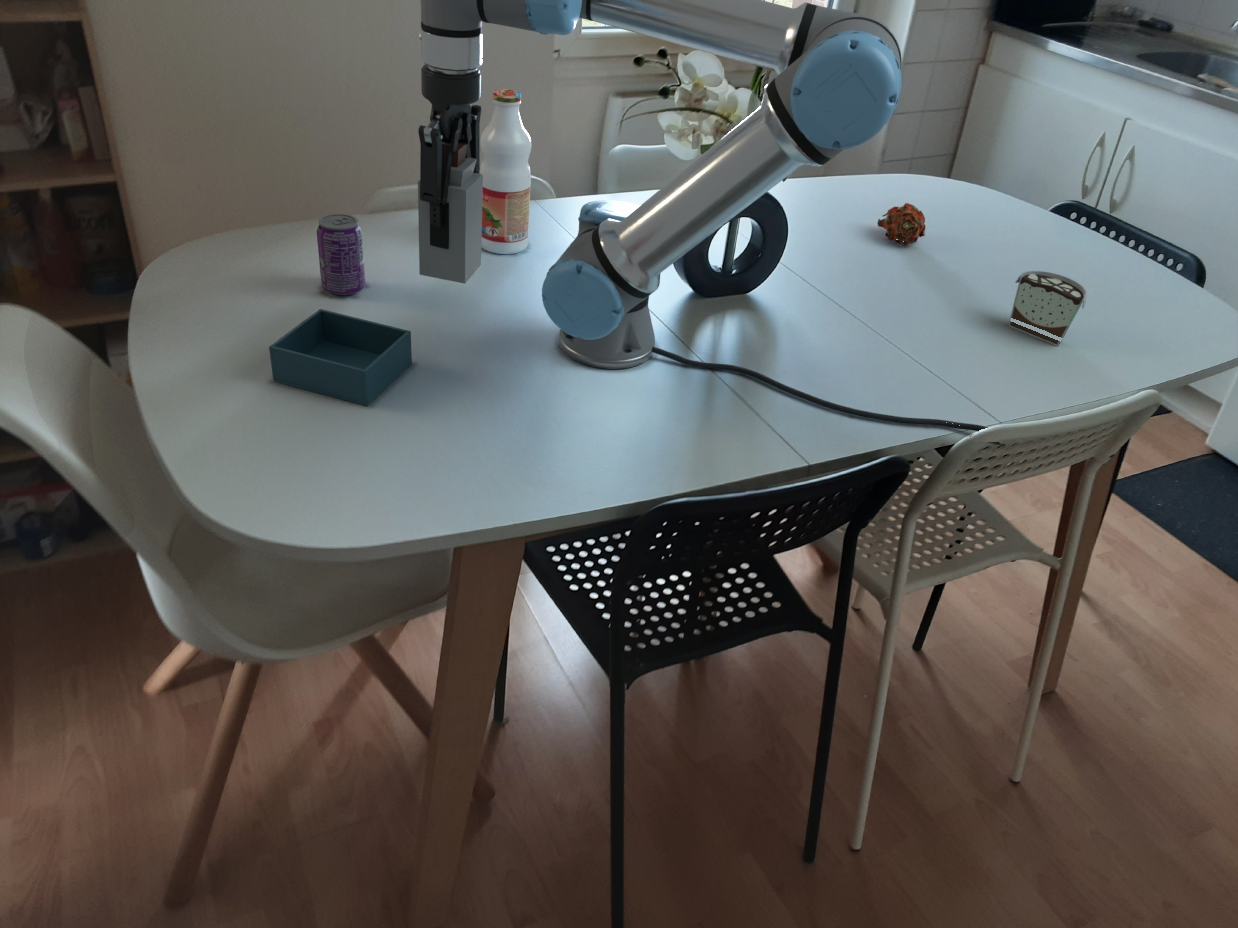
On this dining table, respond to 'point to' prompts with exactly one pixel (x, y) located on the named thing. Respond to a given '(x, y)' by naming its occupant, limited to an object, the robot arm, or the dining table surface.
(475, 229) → the perfume bottle
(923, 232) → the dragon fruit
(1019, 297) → the food container
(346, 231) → the beverage can
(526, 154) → the fruit juice
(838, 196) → the dining table surface
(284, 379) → the case
